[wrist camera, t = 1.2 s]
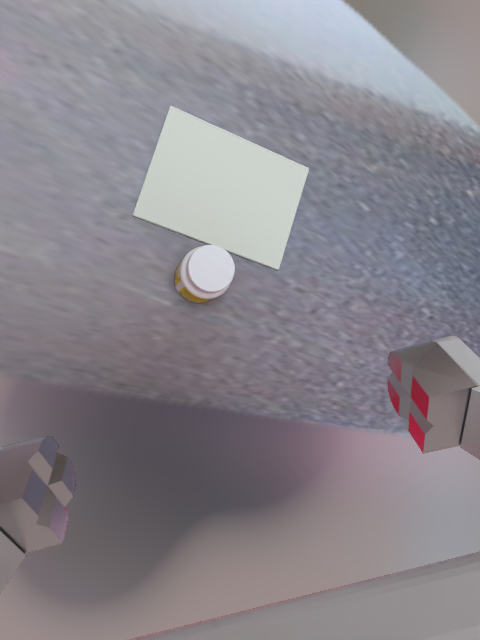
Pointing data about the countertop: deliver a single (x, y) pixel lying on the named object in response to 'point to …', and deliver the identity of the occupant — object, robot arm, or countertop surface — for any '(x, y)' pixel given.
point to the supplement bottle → (204, 274)
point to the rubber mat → (221, 189)
